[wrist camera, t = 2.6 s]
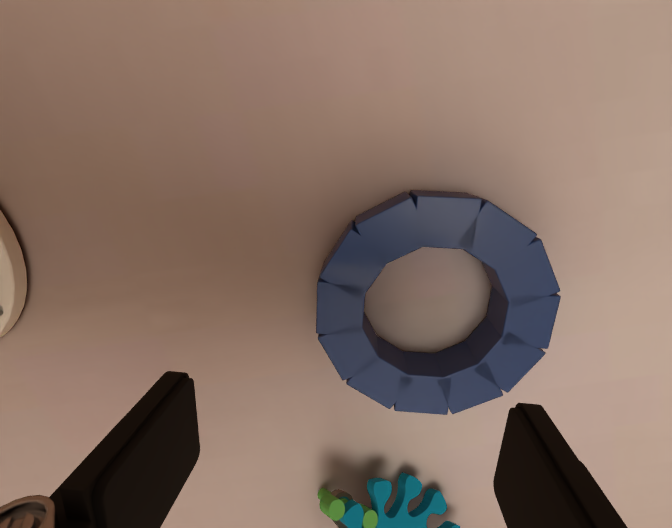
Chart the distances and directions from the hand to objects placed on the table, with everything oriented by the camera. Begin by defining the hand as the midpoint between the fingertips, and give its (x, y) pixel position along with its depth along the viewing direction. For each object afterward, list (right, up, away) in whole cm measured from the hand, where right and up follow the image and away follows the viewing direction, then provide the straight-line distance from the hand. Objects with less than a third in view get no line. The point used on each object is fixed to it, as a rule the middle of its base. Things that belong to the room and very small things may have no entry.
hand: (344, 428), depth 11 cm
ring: (+5, +3, +10) cm, 11 cm away
